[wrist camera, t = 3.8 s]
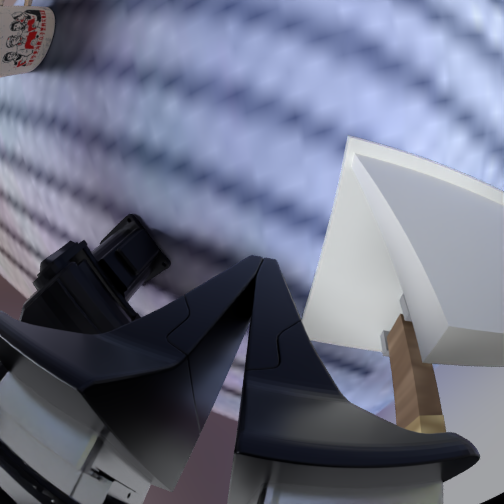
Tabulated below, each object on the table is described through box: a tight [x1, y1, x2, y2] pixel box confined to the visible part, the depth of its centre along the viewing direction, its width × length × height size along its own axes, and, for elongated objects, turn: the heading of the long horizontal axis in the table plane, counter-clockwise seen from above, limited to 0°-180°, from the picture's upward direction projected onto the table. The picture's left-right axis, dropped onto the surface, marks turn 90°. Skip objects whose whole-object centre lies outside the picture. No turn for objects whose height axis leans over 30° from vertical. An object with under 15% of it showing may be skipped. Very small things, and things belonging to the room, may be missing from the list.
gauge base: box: [301, 135, 504, 367], centre depth 14 cm, size 18×19×17 cm
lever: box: [387, 314, 446, 434], centre depth 17 cm, size 2×3×12 cm, turn 174°
